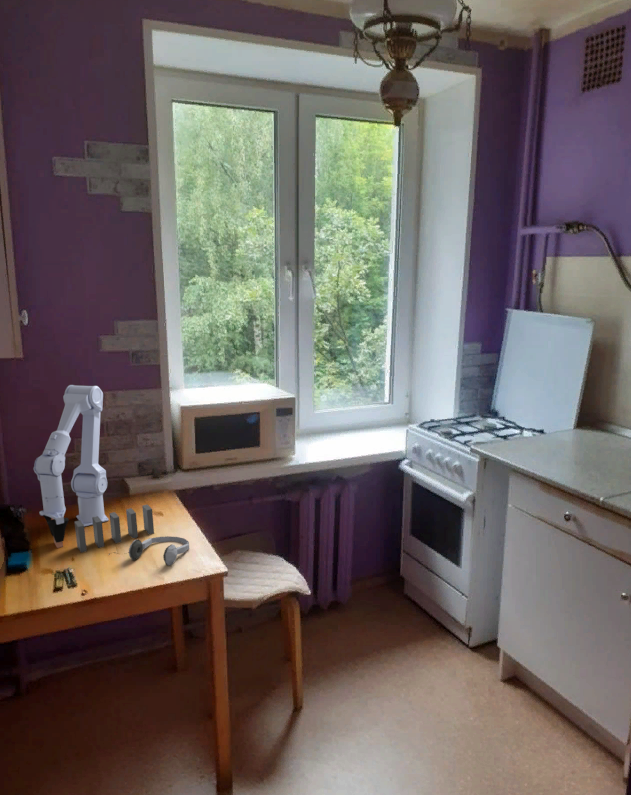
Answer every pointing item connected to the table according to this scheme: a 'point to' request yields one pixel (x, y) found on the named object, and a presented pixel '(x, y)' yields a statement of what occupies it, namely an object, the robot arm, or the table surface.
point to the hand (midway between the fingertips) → (57, 538)
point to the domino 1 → (58, 544)
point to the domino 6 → (148, 519)
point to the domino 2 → (80, 536)
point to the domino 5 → (132, 523)
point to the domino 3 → (98, 531)
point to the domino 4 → (115, 527)
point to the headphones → (170, 551)
